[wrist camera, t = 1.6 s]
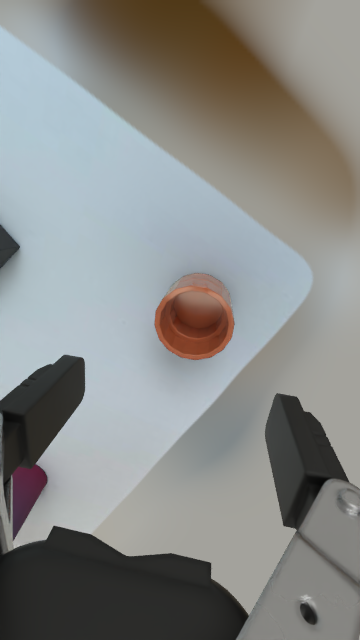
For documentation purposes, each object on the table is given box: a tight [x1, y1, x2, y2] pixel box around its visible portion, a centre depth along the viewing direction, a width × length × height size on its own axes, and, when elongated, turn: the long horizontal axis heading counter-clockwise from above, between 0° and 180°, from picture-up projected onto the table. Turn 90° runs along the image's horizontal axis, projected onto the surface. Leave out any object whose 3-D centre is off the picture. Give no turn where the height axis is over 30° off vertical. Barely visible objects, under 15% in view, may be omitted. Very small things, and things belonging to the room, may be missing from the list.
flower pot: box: [155, 273, 234, 360], centre depth 22 cm, size 6×6×5 cm
